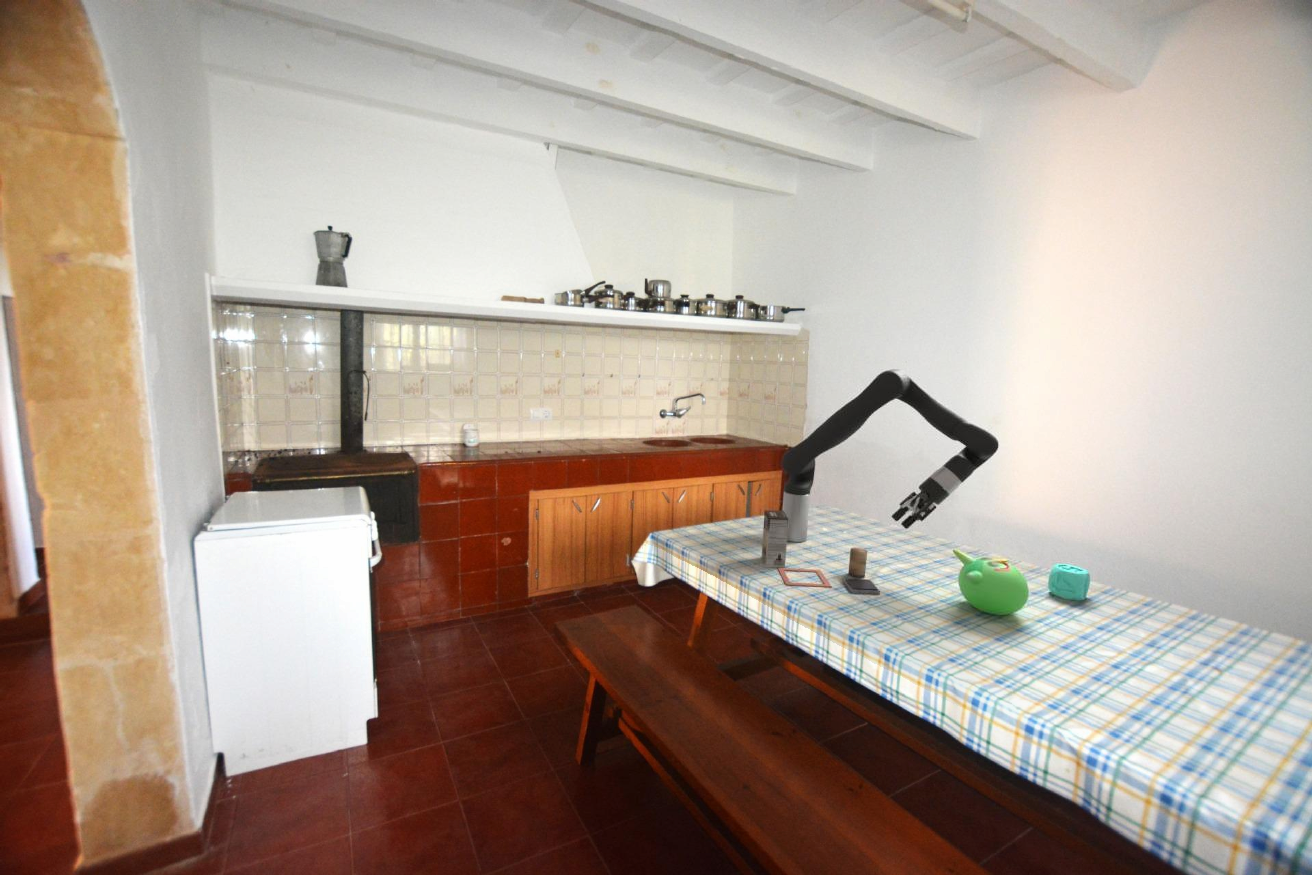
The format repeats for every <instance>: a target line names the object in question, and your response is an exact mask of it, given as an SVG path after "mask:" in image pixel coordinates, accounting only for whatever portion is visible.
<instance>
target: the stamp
mask: <svg viewBox="0 0 1312 875" xmlns="http://www.w3.org/2000/svg"><path fill="white" fill-rule="evenodd" d="M849 552H850V553H849V564H848V573H847V574H848V576H850V577H851V578H853V579H865V578H866V569H867V559H868V558H867V557H868V550H867V549H865V548H862V547H851V548H850V551H849Z"/></svg>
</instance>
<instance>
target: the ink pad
mask: <svg viewBox="0 0 1312 875" xmlns="http://www.w3.org/2000/svg"><path fill="white" fill-rule="evenodd" d="M842 583H843V585H844V586H845V587H846V589H847V590H848V591H849V593H850V594H863V595H864V594H865V595H880V594H881V590H880V589H879V588H878V587H877V586H876V584H874V582H872V580H871V579H865V578H842Z"/></svg>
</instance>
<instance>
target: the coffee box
mask: <svg viewBox="0 0 1312 875" xmlns="http://www.w3.org/2000/svg"><path fill="white" fill-rule="evenodd" d="M763 515H764V517H763V528H762V532H763V533H762V542H761V544H762V546H761V558H762V561H763V564H764V565H765V567H767V568H786V556H787V545H788V541H787V535H788V522H789V518H788V517H787V515H786V514H785V512H784V511H783V510H771V509H770V510H766V509H764V514H763Z"/></svg>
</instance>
